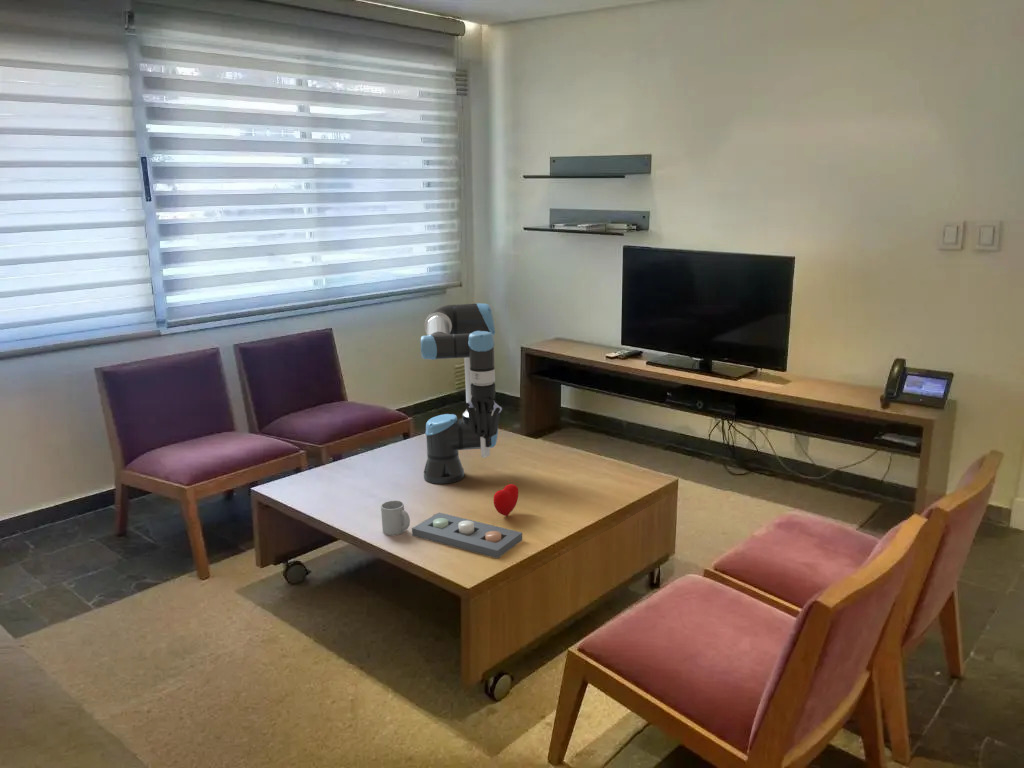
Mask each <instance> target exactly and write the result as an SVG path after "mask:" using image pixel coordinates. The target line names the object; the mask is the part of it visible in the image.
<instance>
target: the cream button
mask: <svg viewBox="0 0 1024 768" xmlns="http://www.w3.org/2000/svg"><path fill="white" fill-rule="evenodd" d="M468 520H469V519H468ZM468 520H467V521H461V522H459V524H458V526H459V534H462V535H466V536H470V535H471V534H473V533H474V522H472V521H473V520H472V521H468Z"/></svg>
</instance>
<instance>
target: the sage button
mask: <svg viewBox="0 0 1024 768" xmlns="http://www.w3.org/2000/svg"><path fill="white" fill-rule="evenodd" d="M447 526H448V520H447V519H445V518H438V519H435V520H434V521H433V527H435V528H439V529H444V528H446V527H447Z"/></svg>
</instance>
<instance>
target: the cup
mask: <svg viewBox="0 0 1024 768" xmlns="http://www.w3.org/2000/svg"><path fill="white" fill-rule="evenodd" d="M380 512H381V526H382V527H381V528H382V532H383V534H385V535H387V536H393V537H394V536H398V535H402V534H403V533H404V532H405V531H407V530H408V529H409V527H410V524H411V520H410V515H409V514H408V512H407V511H406V510H405V503H404V502H403V501H401V500H388V501H384V502H383V503H382V504H381V505H380Z"/></svg>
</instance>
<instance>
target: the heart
mask: <svg viewBox="0 0 1024 768" xmlns="http://www.w3.org/2000/svg"><path fill="white" fill-rule="evenodd" d="M518 499H519V488H518V486H517V485H516V484H514V483H510V484H507V485H505V486H504V487H503V489H498V491H496V492H495V493H494V495H493V500H492V501H493V506H494V509H495V511H496V512H497V513H499V514H500V515H502V516H505V517H508V516H509V515H510V514H511V512H512V511H513V510H514V508H516V505H517V502H518Z"/></svg>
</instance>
